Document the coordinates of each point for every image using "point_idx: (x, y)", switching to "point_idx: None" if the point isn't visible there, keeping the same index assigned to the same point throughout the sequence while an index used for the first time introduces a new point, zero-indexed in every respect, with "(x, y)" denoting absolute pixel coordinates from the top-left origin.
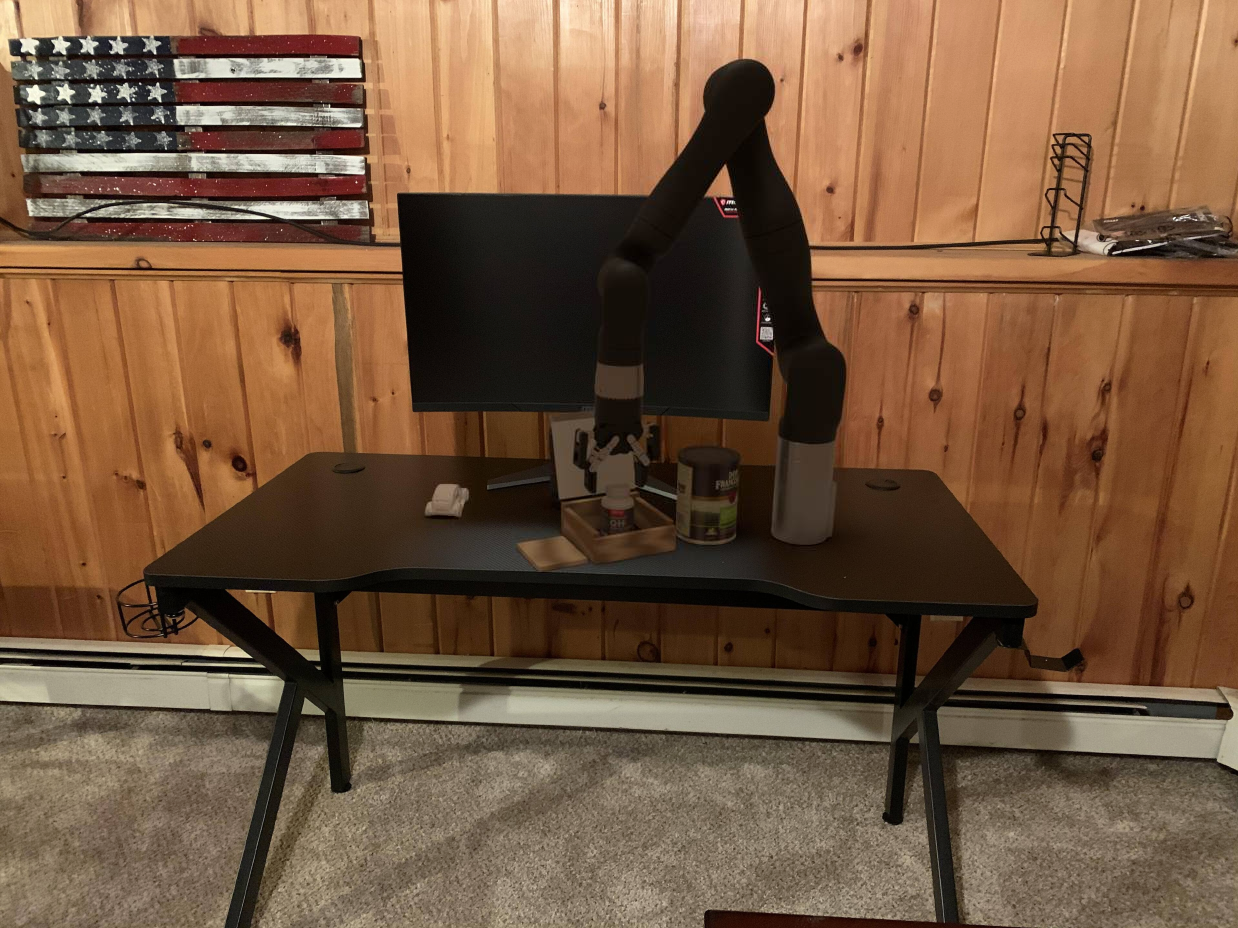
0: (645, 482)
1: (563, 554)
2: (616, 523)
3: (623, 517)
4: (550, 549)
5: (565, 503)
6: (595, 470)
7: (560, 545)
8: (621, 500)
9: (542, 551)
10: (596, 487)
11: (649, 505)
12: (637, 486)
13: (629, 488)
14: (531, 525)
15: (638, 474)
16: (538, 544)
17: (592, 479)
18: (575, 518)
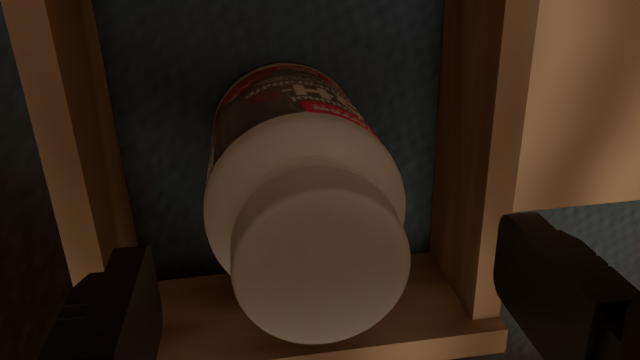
0: (93, 276)
1: (576, 35)
2: (336, 98)
3: (305, 97)
4: (592, 103)
5: (492, 340)
6: (627, 307)
7: (539, 129)
8: (318, 163)
9: (627, 95)
10: (525, 230)
11: (76, 250)
12: (157, 282)
13: (258, 211)
14: (506, 352)
15: (139, 338)
16: (604, 164)
17: (592, 267)
18: (513, 194)
